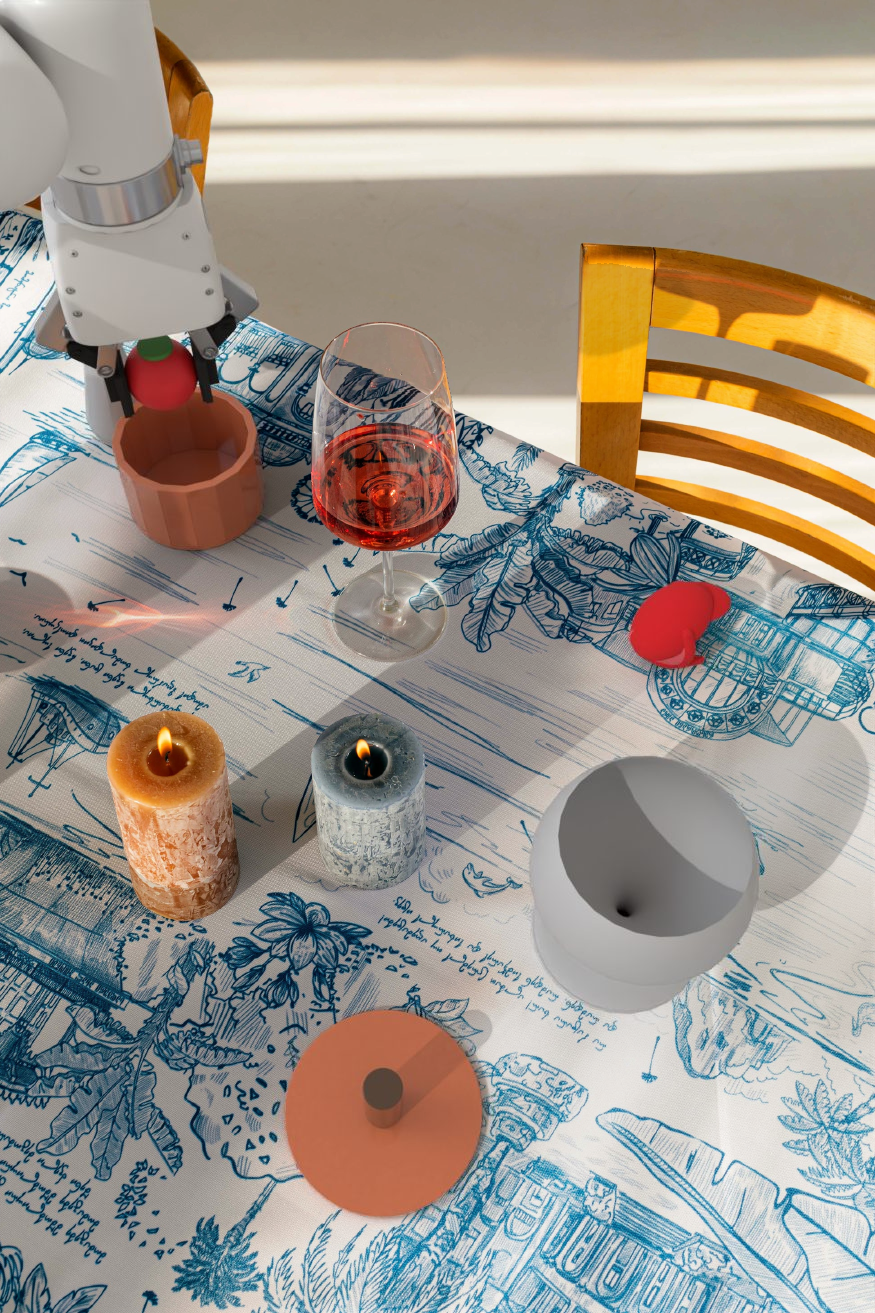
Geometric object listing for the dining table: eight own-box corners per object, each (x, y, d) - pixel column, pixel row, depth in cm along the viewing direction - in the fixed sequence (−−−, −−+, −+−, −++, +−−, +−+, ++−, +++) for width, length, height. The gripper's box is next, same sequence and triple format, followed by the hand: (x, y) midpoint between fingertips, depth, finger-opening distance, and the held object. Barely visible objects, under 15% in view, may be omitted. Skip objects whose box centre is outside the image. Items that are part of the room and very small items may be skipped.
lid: (273, 1212, 73) (263, 1195, 67) (298, 1008, 79) (290, 977, 74) (477, 1226, 72) (484, 1210, 67) (484, 1021, 79) (491, 991, 74)
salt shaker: (136, 399, 108) (107, 284, 97) (171, 436, 106) (145, 323, 95) (80, 429, 106) (43, 315, 95) (114, 467, 104) (80, 355, 93)
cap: (662, 696, 93) (677, 655, 88) (609, 646, 95) (621, 602, 90) (733, 643, 96) (751, 600, 91) (679, 595, 98) (695, 550, 93)
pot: (117, 545, 99) (98, 486, 93) (143, 443, 105) (127, 381, 99) (254, 554, 99) (245, 496, 93) (272, 451, 105) (264, 389, 99)
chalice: (751, 906, 84) (814, 816, 71) (655, 1075, 78) (706, 1009, 65) (580, 802, 88) (611, 699, 75) (475, 955, 81) (490, 870, 69)
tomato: (124, 422, 84) (109, 368, 79) (140, 371, 86) (125, 315, 82) (195, 428, 84) (184, 373, 79) (208, 376, 86) (198, 321, 82)
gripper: (246, 112, 73) (274, 339, 88) (-41, 154, 70) (39, 380, 85) (271, 189, 69) (295, 412, 84) (-33, 236, 66) (50, 458, 81)
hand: (166, 394), depth 85 cm, fingers closed on tomato, 4 cm apart
